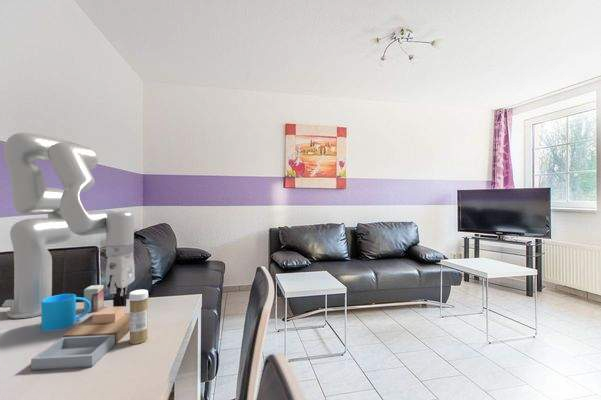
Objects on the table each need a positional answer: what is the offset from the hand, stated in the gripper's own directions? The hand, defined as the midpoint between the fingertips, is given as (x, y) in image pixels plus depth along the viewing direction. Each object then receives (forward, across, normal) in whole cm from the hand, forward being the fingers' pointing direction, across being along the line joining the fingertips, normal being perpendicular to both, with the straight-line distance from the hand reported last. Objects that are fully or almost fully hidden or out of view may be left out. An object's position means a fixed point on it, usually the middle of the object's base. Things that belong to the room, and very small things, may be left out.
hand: (119, 307), depth 94 cm
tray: (+4, -22, 0) cm, 22 cm away
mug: (+4, 0, +15) cm, 16 cm away
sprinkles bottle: (+4, -15, -11) cm, 19 cm away
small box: (+4, +11, +13) cm, 17 cm away
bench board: (+4, -10, 0) cm, 10 cm away
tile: (+1, -6, 0) cm, 7 cm away
